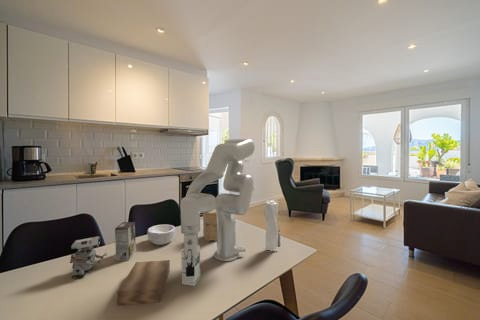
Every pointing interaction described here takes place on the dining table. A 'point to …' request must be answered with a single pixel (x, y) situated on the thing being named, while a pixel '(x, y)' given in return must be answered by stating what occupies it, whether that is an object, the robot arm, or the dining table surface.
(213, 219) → the container
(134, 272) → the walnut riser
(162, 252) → the dining table surface
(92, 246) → the figurine
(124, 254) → the coffee box
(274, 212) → the skyscraper
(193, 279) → the syrup box
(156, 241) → the paper bowls
